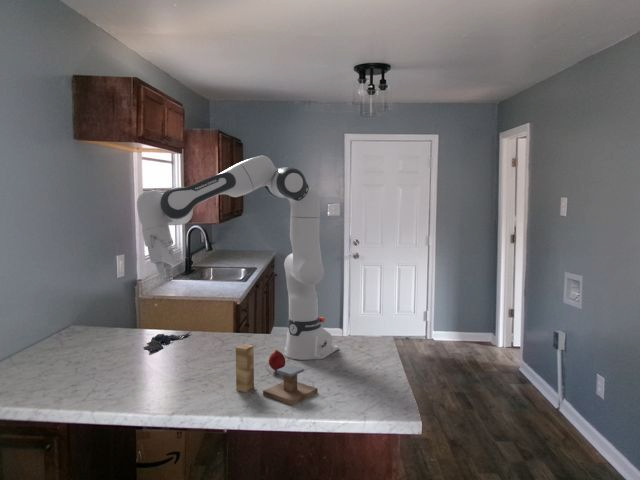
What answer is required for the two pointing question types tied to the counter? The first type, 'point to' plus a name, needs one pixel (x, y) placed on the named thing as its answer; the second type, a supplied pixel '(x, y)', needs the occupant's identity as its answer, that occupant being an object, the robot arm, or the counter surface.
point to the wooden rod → (244, 367)
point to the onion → (276, 360)
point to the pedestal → (290, 387)
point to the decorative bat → (161, 341)
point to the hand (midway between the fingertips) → (166, 278)
